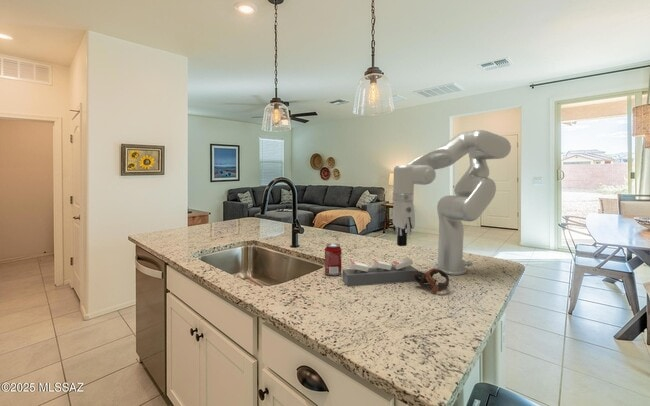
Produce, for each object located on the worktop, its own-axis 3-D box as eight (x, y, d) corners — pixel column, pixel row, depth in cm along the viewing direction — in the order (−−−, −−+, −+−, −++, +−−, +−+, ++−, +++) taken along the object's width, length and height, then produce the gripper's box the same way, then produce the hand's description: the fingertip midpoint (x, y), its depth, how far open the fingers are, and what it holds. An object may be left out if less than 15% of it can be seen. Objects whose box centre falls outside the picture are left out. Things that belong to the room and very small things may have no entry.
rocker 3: (408, 261, 120) (407, 256, 119) (413, 264, 116) (412, 259, 115) (392, 266, 118) (391, 262, 118) (396, 269, 114) (395, 265, 114)
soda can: (340, 276, 119) (340, 247, 118) (323, 275, 121) (323, 246, 120) (342, 271, 126) (342, 243, 125) (326, 270, 127) (326, 242, 126)
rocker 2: (386, 267, 118) (387, 262, 118) (390, 270, 114) (391, 265, 114) (369, 263, 116) (371, 258, 116) (373, 266, 112) (374, 261, 112)
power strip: (424, 273, 123) (425, 262, 123) (434, 279, 116) (434, 267, 116) (342, 279, 116) (342, 267, 116) (347, 286, 110) (347, 273, 109)
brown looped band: (442, 285, 112) (450, 270, 107) (443, 305, 104) (452, 290, 99) (410, 275, 114) (417, 260, 109) (409, 294, 106) (416, 279, 101)
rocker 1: (364, 268, 116) (365, 263, 116) (367, 271, 112) (369, 266, 112) (347, 265, 115) (348, 260, 115) (350, 268, 111) (351, 263, 111)
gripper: (422, 199, 108) (420, 249, 110) (403, 196, 122) (402, 240, 124) (402, 200, 106) (401, 250, 108) (386, 196, 121) (385, 241, 123)
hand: (401, 245), depth 116 cm, fingers closed
